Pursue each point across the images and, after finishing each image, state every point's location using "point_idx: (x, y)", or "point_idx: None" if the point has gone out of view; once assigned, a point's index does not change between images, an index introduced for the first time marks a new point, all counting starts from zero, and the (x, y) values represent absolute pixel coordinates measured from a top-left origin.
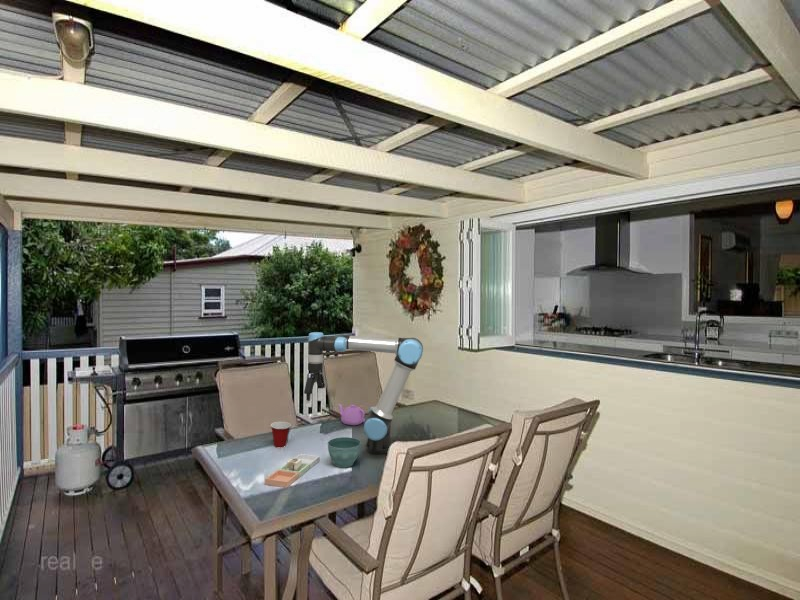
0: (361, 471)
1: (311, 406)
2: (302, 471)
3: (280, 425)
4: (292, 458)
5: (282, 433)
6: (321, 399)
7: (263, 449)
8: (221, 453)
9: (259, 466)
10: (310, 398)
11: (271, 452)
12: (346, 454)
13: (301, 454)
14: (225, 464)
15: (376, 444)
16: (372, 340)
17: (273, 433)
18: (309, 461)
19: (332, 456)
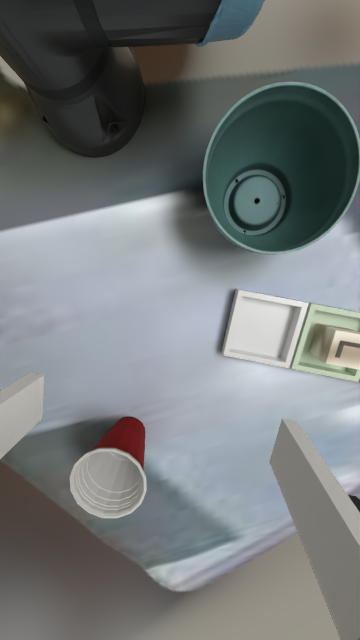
0: None
1: (290, 422)
2: (358, 312)
3: (85, 481)
4: (328, 360)
5: (138, 452)
6: (35, 388)
7: (164, 462)
8: (209, 541)
9: None
10: (347, 511)
11: (183, 436)
12: (336, 159)
13: (229, 350)
14: (280, 511)
15: (129, 73)
16: None
17: (137, 478)
18: (248, 317)
19: (308, 227)
